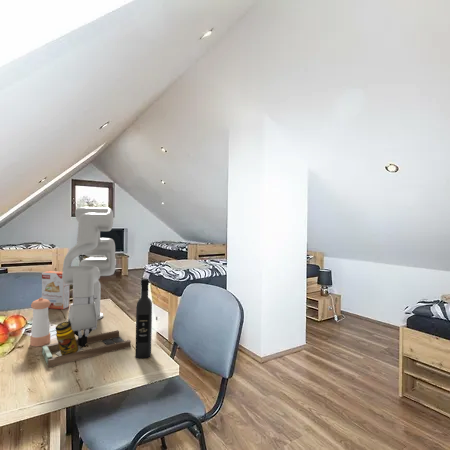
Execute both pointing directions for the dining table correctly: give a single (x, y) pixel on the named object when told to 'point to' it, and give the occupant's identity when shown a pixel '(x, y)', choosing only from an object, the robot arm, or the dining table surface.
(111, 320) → the dining table surface
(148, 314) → the wine bottle
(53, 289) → the cracker box
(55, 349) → the trap lane
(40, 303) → the pepper shaker
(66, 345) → the condiment
